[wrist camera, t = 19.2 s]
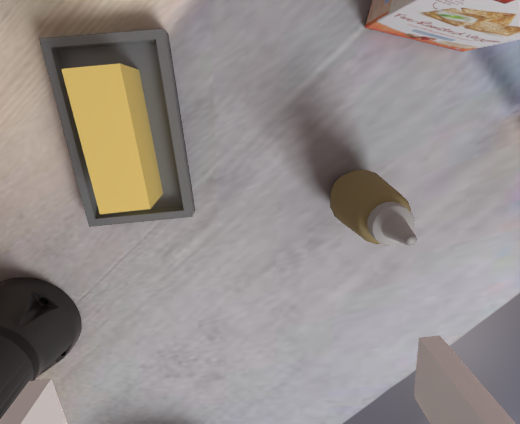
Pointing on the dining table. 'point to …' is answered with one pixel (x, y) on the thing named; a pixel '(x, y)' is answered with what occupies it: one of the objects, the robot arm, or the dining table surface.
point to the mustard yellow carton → (115, 136)
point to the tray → (158, 108)
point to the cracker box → (448, 21)
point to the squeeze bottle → (372, 208)
